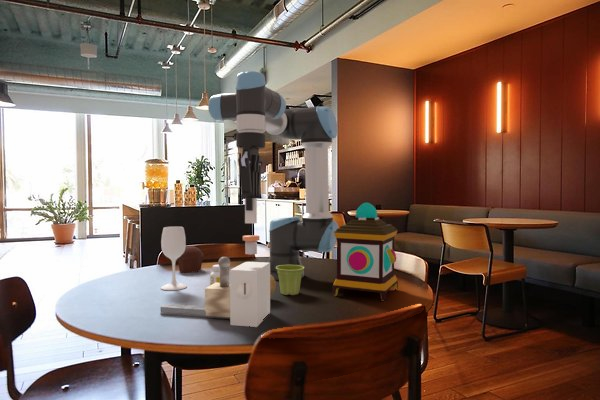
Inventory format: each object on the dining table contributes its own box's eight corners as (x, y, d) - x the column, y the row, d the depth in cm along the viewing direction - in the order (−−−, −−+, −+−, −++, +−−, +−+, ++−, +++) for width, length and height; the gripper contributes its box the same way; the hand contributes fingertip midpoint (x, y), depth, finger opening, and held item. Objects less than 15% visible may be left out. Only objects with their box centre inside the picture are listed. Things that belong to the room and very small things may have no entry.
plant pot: (290, 288, 142) (290, 263, 142) (310, 293, 135) (310, 267, 135) (269, 293, 135) (269, 266, 135) (289, 298, 129) (289, 271, 128)
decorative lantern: (347, 283, 149) (348, 201, 149) (402, 289, 141) (403, 202, 140) (326, 296, 131) (327, 202, 131) (388, 304, 123) (389, 204, 122)
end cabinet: (229, 326, 103) (229, 270, 102) (246, 311, 115) (246, 261, 115) (255, 328, 101) (255, 271, 101) (270, 312, 114) (270, 262, 113)
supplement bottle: (230, 294, 134) (230, 264, 133) (222, 298, 129) (221, 267, 128) (215, 293, 135) (215, 263, 135) (207, 297, 130) (206, 266, 130)
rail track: (160, 314, 112) (160, 306, 112) (166, 311, 115) (166, 303, 115) (236, 319, 108) (236, 311, 108) (240, 316, 111) (240, 308, 111)
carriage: (205, 316, 108) (204, 258, 107) (215, 308, 114) (215, 254, 114) (233, 318, 106) (233, 259, 106) (243, 310, 113) (243, 255, 112)
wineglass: (179, 291, 137) (178, 228, 137) (155, 290, 139) (155, 228, 139) (191, 285, 146) (190, 226, 145) (168, 284, 148) (168, 225, 147)
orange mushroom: (240, 254, 106) (240, 236, 106) (245, 252, 111) (245, 235, 111) (256, 255, 106) (256, 237, 105) (261, 252, 110) (261, 235, 110)
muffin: (199, 273, 166) (199, 248, 166) (172, 273, 167) (172, 248, 166) (206, 267, 178) (206, 244, 178) (181, 267, 179) (181, 244, 178)
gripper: (245, 136, 114) (245, 221, 115) (228, 129, 102) (228, 224, 102) (271, 135, 113) (271, 221, 114) (257, 128, 100) (256, 225, 101)
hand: (250, 223), depth 108 cm, fingers closed
